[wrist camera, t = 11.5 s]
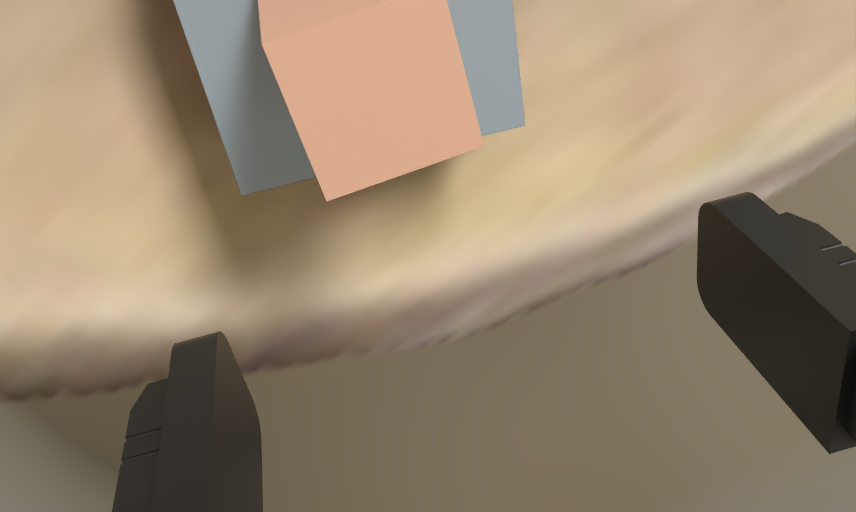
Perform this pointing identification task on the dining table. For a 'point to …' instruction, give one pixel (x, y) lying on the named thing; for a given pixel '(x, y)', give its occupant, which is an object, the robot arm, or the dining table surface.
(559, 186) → the dining table surface
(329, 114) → the terracotta block
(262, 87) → the tower top
